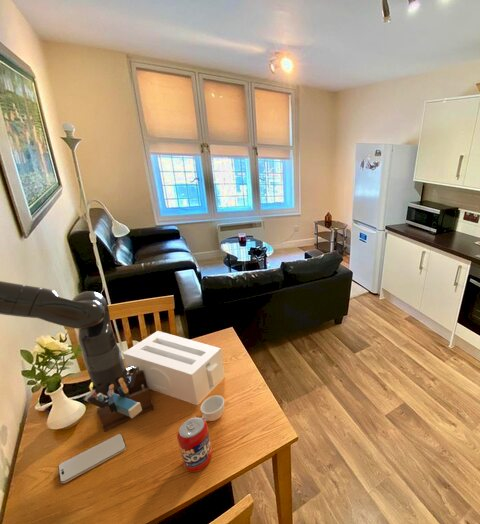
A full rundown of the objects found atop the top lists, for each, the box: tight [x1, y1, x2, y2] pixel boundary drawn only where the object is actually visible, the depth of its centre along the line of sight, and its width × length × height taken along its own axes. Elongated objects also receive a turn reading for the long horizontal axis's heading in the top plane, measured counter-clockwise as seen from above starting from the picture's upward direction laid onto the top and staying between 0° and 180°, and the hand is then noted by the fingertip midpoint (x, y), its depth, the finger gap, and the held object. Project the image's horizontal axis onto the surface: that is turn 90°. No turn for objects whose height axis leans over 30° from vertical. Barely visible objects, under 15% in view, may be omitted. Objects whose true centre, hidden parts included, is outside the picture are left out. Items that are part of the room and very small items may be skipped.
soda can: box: [177, 416, 213, 473], centre depth 86 cm, size 8×8×15 cm
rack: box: [96, 367, 155, 433], centre depth 102 cm, size 14×14×11 cm
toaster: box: [122, 330, 226, 406], centre depth 114 cm, size 35×16×15 cm, turn 74°
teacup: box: [200, 394, 226, 422], centre depth 102 cm, size 10×8×5 cm
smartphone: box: [57, 433, 127, 484], centre depth 87 cm, size 7×1×15 cm
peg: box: [96, 393, 142, 418], centre depth 85 cm, size 3×14×3 cm, turn 72°
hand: (119, 406), depth 85 cm, fingers closed on peg, 2 cm apart
